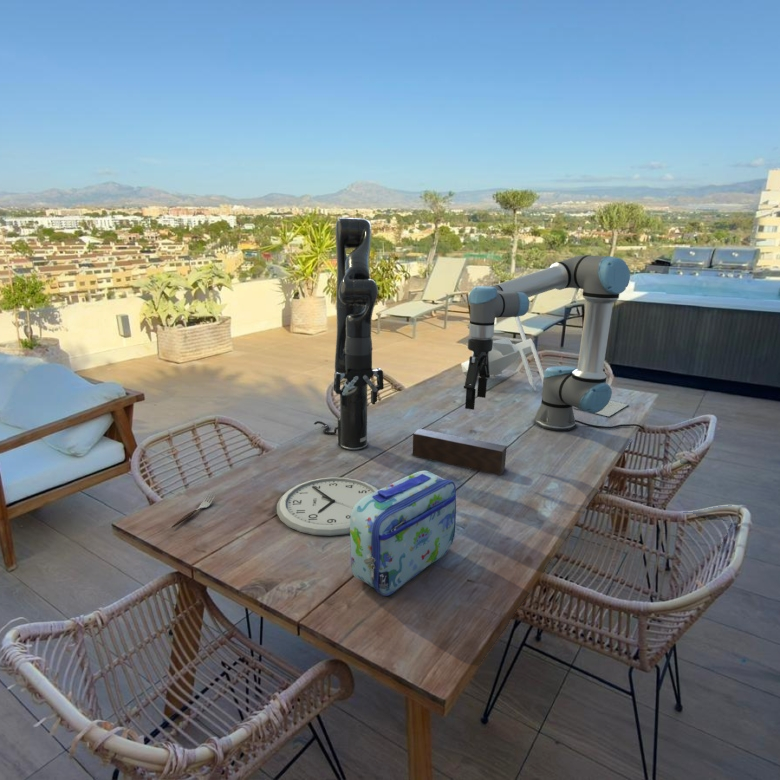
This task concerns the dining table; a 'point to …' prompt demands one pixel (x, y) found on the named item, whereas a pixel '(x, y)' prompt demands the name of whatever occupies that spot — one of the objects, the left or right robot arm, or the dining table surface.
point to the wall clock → (322, 505)
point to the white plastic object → (510, 355)
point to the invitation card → (611, 408)
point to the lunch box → (402, 530)
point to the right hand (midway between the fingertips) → (475, 402)
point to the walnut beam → (459, 451)
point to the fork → (203, 505)
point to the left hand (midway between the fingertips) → (359, 405)
